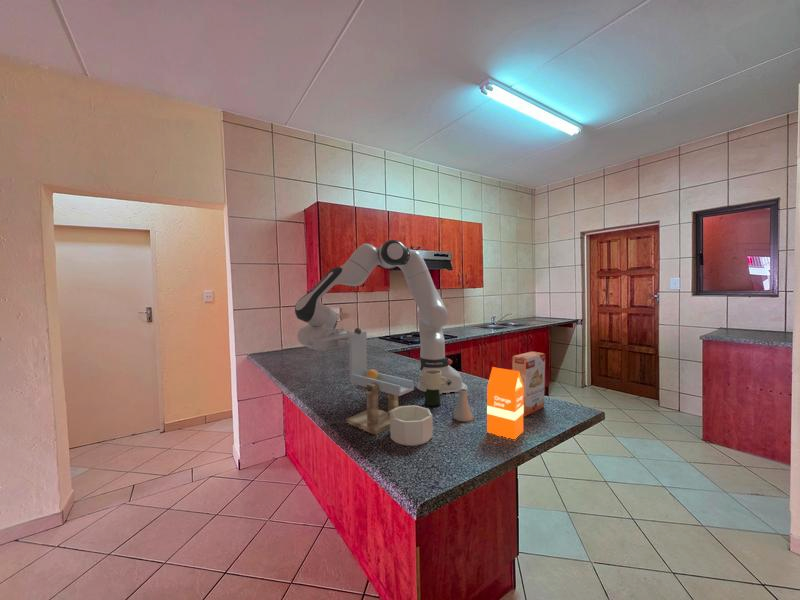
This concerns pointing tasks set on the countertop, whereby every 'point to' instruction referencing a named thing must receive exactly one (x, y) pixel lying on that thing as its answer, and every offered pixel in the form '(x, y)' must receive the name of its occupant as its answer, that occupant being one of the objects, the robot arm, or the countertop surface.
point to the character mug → (432, 385)
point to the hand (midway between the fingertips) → (350, 343)
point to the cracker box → (531, 379)
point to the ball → (372, 374)
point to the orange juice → (505, 403)
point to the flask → (463, 407)
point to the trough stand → (374, 412)
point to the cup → (411, 425)
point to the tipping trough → (360, 370)
